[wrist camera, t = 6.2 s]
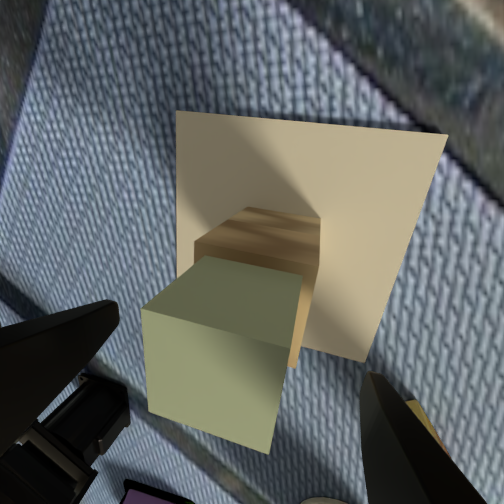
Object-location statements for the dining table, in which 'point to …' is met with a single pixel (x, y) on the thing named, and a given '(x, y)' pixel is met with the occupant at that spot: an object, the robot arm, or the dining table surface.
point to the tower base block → (279, 220)
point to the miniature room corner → (149, 495)
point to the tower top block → (268, 259)
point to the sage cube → (221, 348)
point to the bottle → (322, 501)
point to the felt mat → (312, 204)
